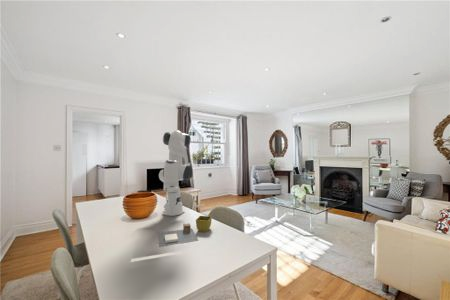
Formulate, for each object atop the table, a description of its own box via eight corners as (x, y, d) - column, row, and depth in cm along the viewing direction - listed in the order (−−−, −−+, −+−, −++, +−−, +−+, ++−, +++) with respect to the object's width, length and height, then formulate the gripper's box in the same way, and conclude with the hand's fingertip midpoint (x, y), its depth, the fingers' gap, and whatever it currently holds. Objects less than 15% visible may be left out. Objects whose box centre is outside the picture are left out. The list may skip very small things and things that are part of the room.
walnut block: (183, 230, 131) (183, 224, 131) (189, 229, 133) (189, 223, 133) (184, 232, 128) (184, 226, 128) (190, 231, 129) (190, 225, 129)
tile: (164, 234, 120) (165, 240, 112) (176, 233, 122) (177, 238, 115) (164, 237, 120) (165, 243, 112) (176, 235, 122) (177, 241, 115)
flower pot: (208, 234, 127) (208, 220, 127) (195, 233, 129) (195, 219, 129) (211, 229, 136) (212, 216, 136) (199, 228, 137) (199, 215, 138)
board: (157, 234, 127) (157, 232, 127) (192, 230, 134) (192, 228, 134) (159, 248, 108) (159, 246, 108) (198, 242, 116) (198, 240, 116)
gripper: (164, 184, 128) (164, 205, 128) (166, 190, 109) (166, 215, 109) (174, 183, 130) (174, 204, 130) (178, 189, 111) (178, 214, 111)
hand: (170, 209), depth 119 cm, fingers closed
